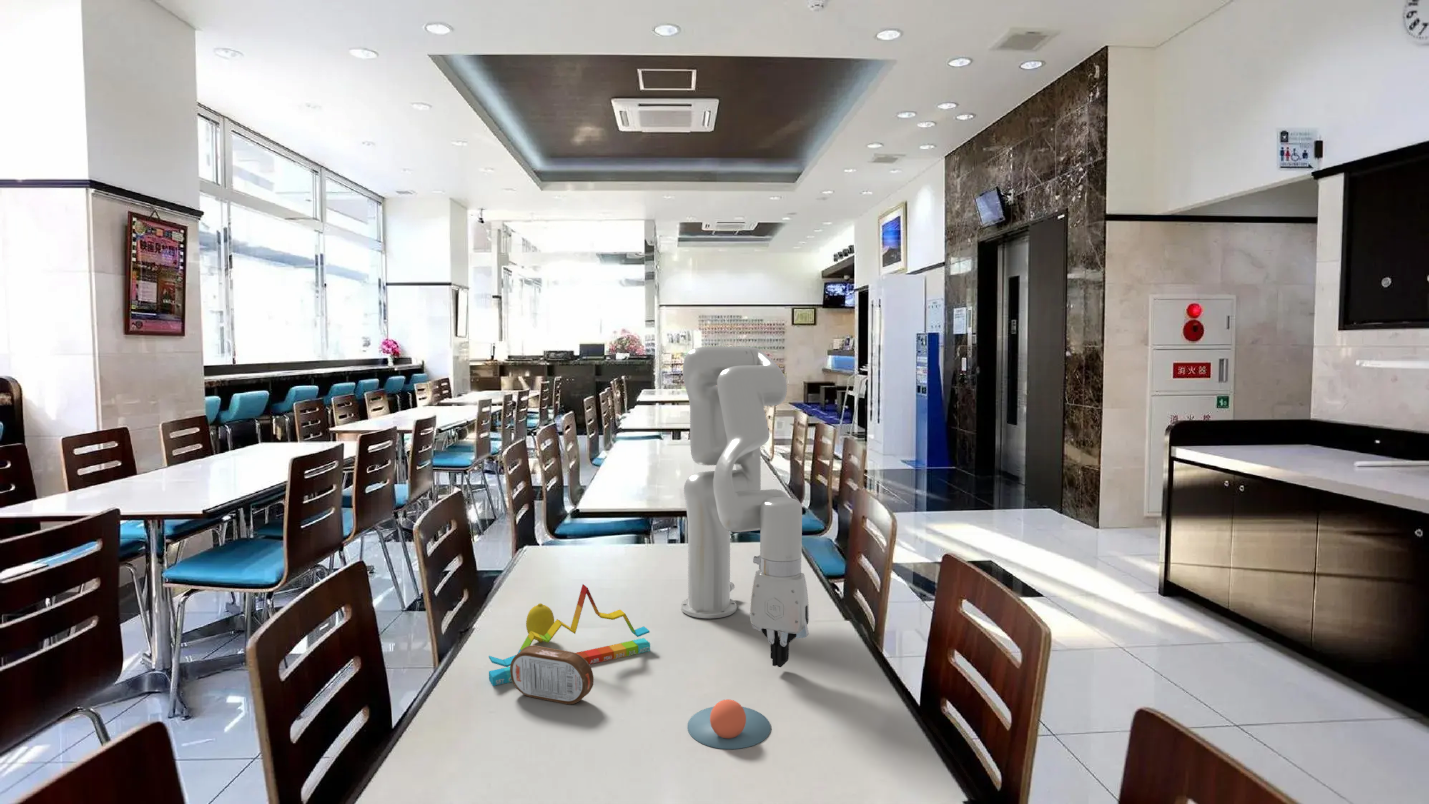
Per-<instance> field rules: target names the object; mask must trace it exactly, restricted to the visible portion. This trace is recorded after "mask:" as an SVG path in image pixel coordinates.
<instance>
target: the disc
mask: <svg viewBox="0 0 1429 804" xmlns="http://www.w3.org/2000/svg"><path fill="white" fill-rule="evenodd" d="M713 707H714V706H711V707H706V708H704V709H701V710H700V711H698V712H696V713H694V714H693V715H692V716H691V717H690V718H689V720H688V722H687V731H688V733H689V735H690V736H691V737H692V738H693V739H694V740H695V741H697V742H698V743H700V744H701V745H705V746H707V747H711V748H715V749H720V750H738V749H739V750H740V749H745V748H746V749H747V748H750V747H753V746H755V745H758V744H760V743H761V742H763V741H765V740H766V739H767V738H768V736H769V735H770V733H771V724H770V721H769V719H768V718H767V717H766V716H765V715H764V714H762V713H761V712H759V711H757V710H755V709H752V708H749V707H746V706H742V708H743V709H744V711H745V715H746V724H745V727H744V729H743V731H742V732H741V733H740V734H739V735H738V736H736V737H734V738H730V739H726V738H722V737H720V736H718V735H717V734H716V733H715V732H714V730H713V729H712V727H711V723H710V715H711V711H712V709H713Z"/></svg>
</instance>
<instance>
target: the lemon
mask: <svg viewBox="0 0 1429 804" xmlns="http://www.w3.org/2000/svg"><path fill="white" fill-rule="evenodd" d="M554 622H555V616H554V612H553V610H552V609H551V608H550V607H549V606H547V605H546V604H543V603H541V602H540V603H538V604H536V605H534V606H533V607H532V608H531V609H530V610H529V611H528V613H527V616H526V622H525V626H526V627H525V628H526V631H527V634H529V633H530V631H532V632H535V633H537V634H540V635H542V636H545V634H546V633H547V632H548V630H549V629H550V628H551V626H552V625H553V624H554ZM534 640H535V641H537V642H538V643H543V642H544V641H542V640H539V639H537V638H535V637H534Z"/></svg>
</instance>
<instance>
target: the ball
mask: <svg viewBox="0 0 1429 804" xmlns="http://www.w3.org/2000/svg"><path fill="white" fill-rule="evenodd" d="M712 707H713V709H712V711H711V715H710V723H711V727H712V729H713V730H714V732H715V733H716V734H717V735H718V736H720V737H722V738H726V739H730V738H734V737H736V736H738V735H739V734H740V733H741V732H742V731H743V729H744V727H745V724H746V715H745V711H744V709H743V708H742V707H743V706H742V705H741V704H740V703H739V702H738V701H736V700H733V699H722V700H720V701H718V702H717V703H716V704H714V706H712Z"/></svg>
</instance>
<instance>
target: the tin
mask: <svg viewBox="0 0 1429 804" xmlns="http://www.w3.org/2000/svg"><path fill="white" fill-rule="evenodd" d="M518 652H519V651H518ZM518 652H517V654H515V655H516V656H515V657H514V658H513V660H512V661H511V665H510V666H509V667H510V674H511V679H512V682H511V683H512V684H513V686H514V687H515V688H516V690H517V691H518V692H520V693H521V694H522V695H524V696H526V697H529V698H534V699H539V700H544V701H547V702H548V701H550V702H553V703H557V704H558V703H559V704H564V705H574V704H577V703H578V702H580V701H581V700H582V699H584V697H586V696H587V695H589V694H590V692H591V690H592V689H593V687H594V680H595V679H594V673H593V670H592V667H591V666H590V665H591V664H588V662H587V661H586V660H585V659H584V658H583V657H582V656H580V655H579V654H577V652H574V651H568V650H562V649H557V648H550V647H545V646H540V645H535V644H534V645H533V644H532V645H530V646H527V647H525V648H523V649H522V650H521V651H520V652H519V653H518Z"/></svg>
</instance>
